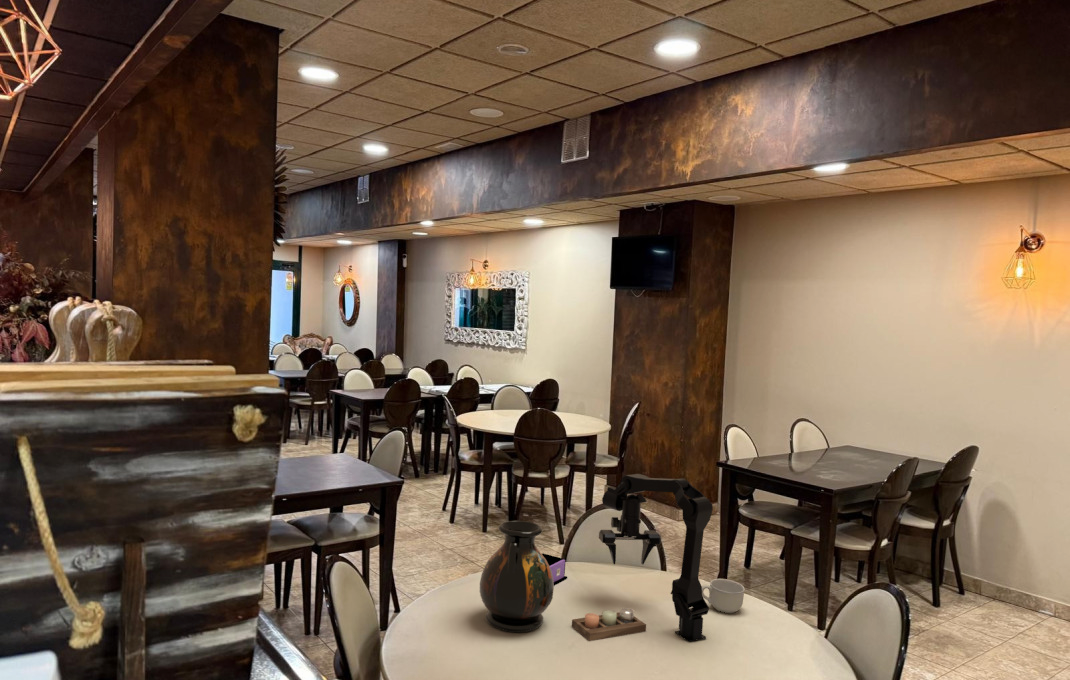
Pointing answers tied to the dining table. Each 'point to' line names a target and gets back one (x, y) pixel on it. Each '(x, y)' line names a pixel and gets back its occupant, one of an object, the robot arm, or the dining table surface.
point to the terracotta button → (591, 621)
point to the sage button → (609, 618)
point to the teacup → (725, 595)
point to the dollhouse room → (556, 568)
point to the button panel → (608, 628)
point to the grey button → (626, 615)
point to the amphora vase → (517, 580)
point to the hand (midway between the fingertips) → (628, 564)
